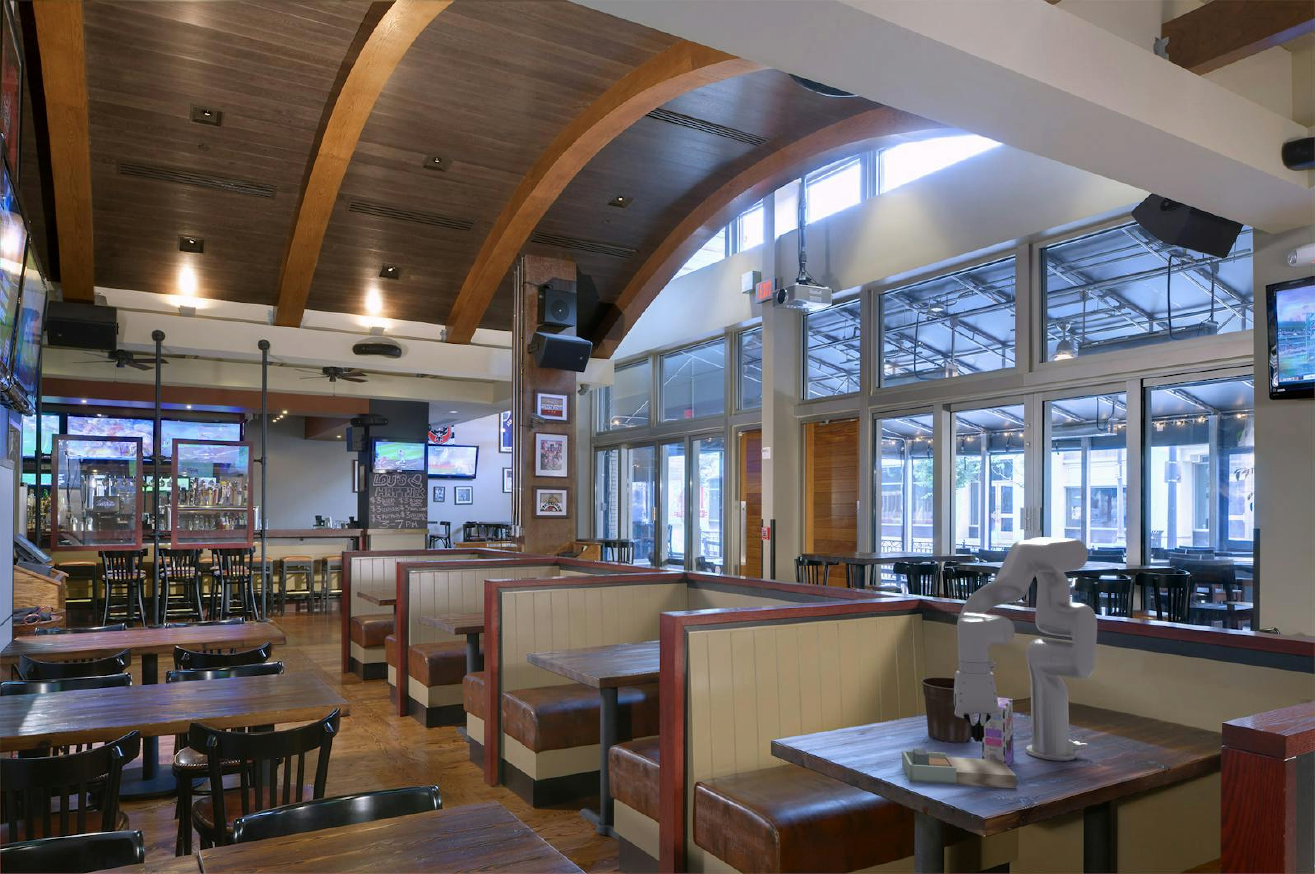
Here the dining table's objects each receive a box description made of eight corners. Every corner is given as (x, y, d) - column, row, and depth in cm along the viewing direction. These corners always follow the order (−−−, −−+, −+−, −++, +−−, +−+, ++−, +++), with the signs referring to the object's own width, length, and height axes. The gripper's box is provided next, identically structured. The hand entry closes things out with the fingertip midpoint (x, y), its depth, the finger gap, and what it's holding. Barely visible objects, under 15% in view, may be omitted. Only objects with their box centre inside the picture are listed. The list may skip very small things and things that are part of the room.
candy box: (1005, 772, 217) (1004, 707, 218) (981, 768, 220) (980, 704, 221) (1014, 759, 229) (1013, 697, 230) (991, 755, 232) (990, 694, 233)
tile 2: (945, 770, 215) (945, 758, 216) (950, 776, 210) (950, 764, 211) (925, 769, 216) (925, 757, 216) (929, 775, 211) (929, 763, 211)
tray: (945, 768, 219) (945, 752, 220) (956, 784, 206) (956, 767, 207) (902, 765, 221) (902, 750, 221) (910, 781, 208) (910, 765, 208)
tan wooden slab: (1001, 771, 217) (1001, 759, 218) (1016, 787, 205) (1015, 775, 205) (945, 768, 219) (945, 756, 220) (956, 784, 206) (956, 771, 207)
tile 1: (924, 749, 217) (912, 748, 217) (928, 754, 212) (916, 754, 212) (924, 769, 216) (912, 768, 217) (929, 775, 211) (916, 774, 212)
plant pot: (987, 746, 242) (986, 688, 243) (930, 744, 242) (930, 687, 243) (967, 731, 258) (967, 677, 259) (914, 729, 258) (914, 676, 259)
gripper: (1001, 664, 217) (1004, 736, 216) (941, 663, 219) (944, 735, 218) (1009, 670, 210) (1012, 745, 209) (947, 670, 212) (950, 744, 211)
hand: (977, 739), depth 214 cm, fingers closed
